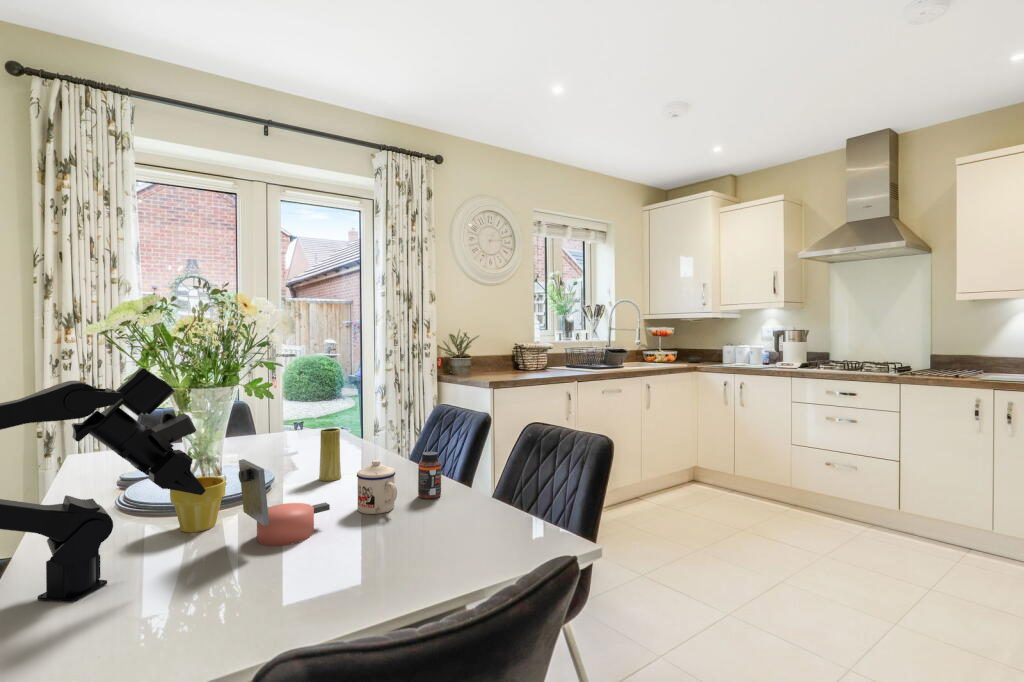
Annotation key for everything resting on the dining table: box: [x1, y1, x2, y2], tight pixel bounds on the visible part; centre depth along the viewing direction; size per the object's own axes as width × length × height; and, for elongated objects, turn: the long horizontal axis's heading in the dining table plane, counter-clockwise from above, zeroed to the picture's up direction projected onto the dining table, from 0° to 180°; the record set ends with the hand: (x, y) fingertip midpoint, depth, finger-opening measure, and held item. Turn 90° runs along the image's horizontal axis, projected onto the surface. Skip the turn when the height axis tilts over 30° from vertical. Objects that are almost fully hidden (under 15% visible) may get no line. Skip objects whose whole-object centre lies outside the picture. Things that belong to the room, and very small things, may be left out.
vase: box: [318, 427, 342, 482], centre depth 153 cm, size 6×6×14 cm
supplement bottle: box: [417, 451, 442, 500], centre depth 138 cm, size 6×6×11 cm
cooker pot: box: [256, 502, 331, 547], centre depth 112 cm, size 15×11×5 cm
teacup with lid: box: [356, 459, 398, 515], centre depth 127 cm, size 12×9×12 cm
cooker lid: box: [237, 459, 269, 526], centre depth 105 cm, size 11×11×3 cm
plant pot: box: [169, 475, 226, 533], centre depth 115 cm, size 10×10×10 cm
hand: (196, 487), depth 99 cm, fingers open, 8 cm apart
